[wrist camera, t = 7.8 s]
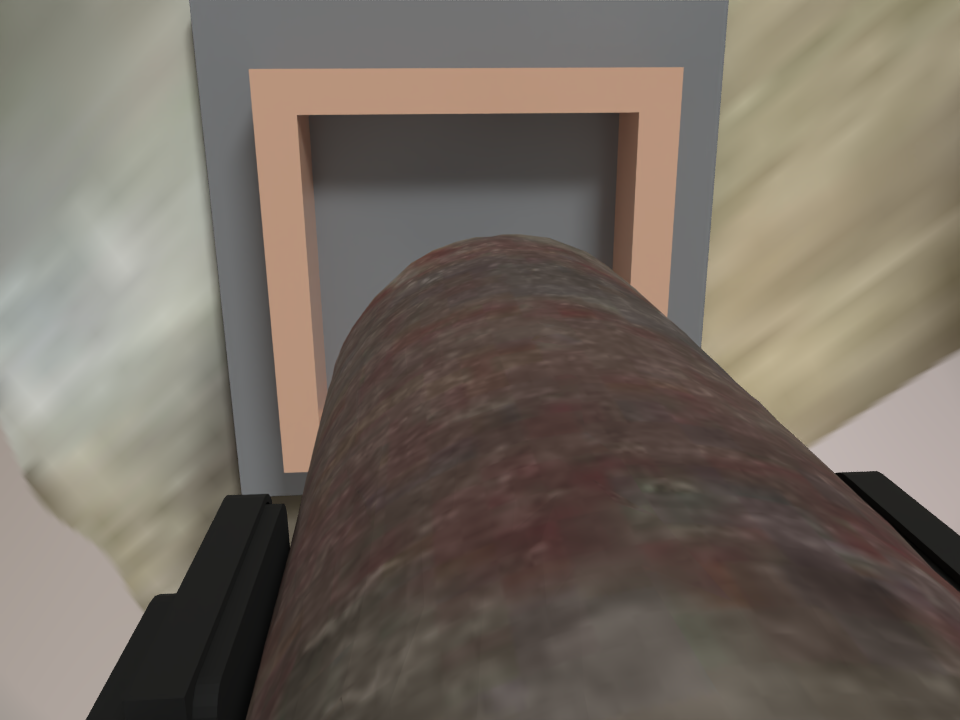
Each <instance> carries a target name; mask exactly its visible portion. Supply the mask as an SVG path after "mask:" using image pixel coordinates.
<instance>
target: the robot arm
mask: <svg viewBox="0 0 960 720" xmlns="http://www.w3.org/2000/svg"><path fill="white" fill-rule="evenodd" d="M835 474H836V475H837V476H838V477H839V478H840V479H841V480H842V481H843V482H844V483H845V484H847V485H848V486H849V487H850V488H851V489H852V490H853V491H854V492H855V493H856V494H857V495H858V496H859V497H860V498H861V499H862V500H863V501H864V502H866V503H867V504H868V505H869V506H870V507H871V508H872V509H873V510H875V511H876V512H877V513H878V514H879V515H880V516H881V517H883V518H884V519H885V520H886V521H887V522H888V523H889V524H890V525H891V526H892V527H893V528H894V529H895V530H896V531H897V532H898V533H899V534H900V535H901V536H902V537H903V538H904V539H905V541H906V542H907V543H908V544H909V545H910V546H911V547H912V548H913V549H914V550H915V551H916V552H917V553H918V554H919V555H920V556H921V557H922V558H923V559H924V561H925V562H926V563H927V564H928V565H929V566H930V567H931V568H932V569H933V570H934V571H935V572H936V573H937V574H939V575H940V576H941V577H942V578H943V579H944V580H946V581H947V582H948V583H949V584H950V585H951V586H953V587H954V588H955V589H956V590H957V591H959V592H960V536H959V535H958V534H957V533H956V532H954V531H953V530H952V529H951V528H949V527H948V526H947V525H946V524H944V523H943V522H942V521H940V520H939V519H938V518H937V517H936V516H934V515H933V514H932V513H931V512H929V511H928V510H927V509H925V508H924V507H923V506H922V505H920V504H919V503H918V502H917V501H916V500H914V499H913V498H912V497H910V496H909V495H908V494H907V493H906V492H904V491H903V490H902V489H901V488H899V487H898V486H897V485H896V484H894V483H893V482H892V481H891V480H889V479H888V478H887V477H885V476H884V475H883V474H881V473H880V472H877V471H870V472H842V473H835ZM289 551H290V543H289V532H288V520H287V511H286V507H285V504H272V500H271V497H270V495H269V494H249V495H227V496H226V497H225V498H224V500H223V502H222V504H221V506H220V508H219V510H218V512H217V514H216V516H215V518H214V520H213V522H212V524H211V526H210V528H209V530H208V532H207V534H206V536H205V538H204V540H203V542H202V544H201V546H200V548H199V550H198V552H197V554H196V556H195V558H194V560H193V562H192V564H191V566H190V568H189V570H188V572H187V574H186V576H185V577H184V579H183V581H182V583H181V585H180V587H179V589H178V591H177V593H175V594H159V595H157V596H155V597H154V598H153V599H152V601H151V602H150V603H149V605H148V607H147V609H146V611H145V613H144V614H143V616H142V618H141V620H140V622H139V624H138V625H137V627H136V629H135V631H134V633H133V634H132V636H131V638H130V640H129V642H128V644H127V646H126V647H125V649H124V651H123V653H122V655H121V656H120V658H119V660H118V662H117V664H116V666H115V667H114V669H113V671H112V673H111V675H110V677H109V678H108V680H107V682H106V684H105V686H104V687H103V689H102V691H101V693H100V695H99V697H98V698H97V700H96V702H95V704H94V706H93V708H92V709H91V711H90V713H89V715H88V717H87V718H86V720H246V716H247V712H248V708H249V705H250V701H251V697H252V693H253V689H254V685H255V681H256V677H257V674H258V670H259V666H260V662H261V658H262V654H263V650H264V646H265V642H266V638H267V634H268V630H269V627H270V623H271V619H272V615H273V611H274V608H275V604H276V600H277V596H278V593H279V589H280V585H281V581H282V577H283V573H284V570H285V566H286V562H287V558H288V554H289Z"/></svg>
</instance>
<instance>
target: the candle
mask: <svg viewBox="0 0 960 720" xmlns="http://www.w3.org/2000/svg"><path fill="white" fill-rule="evenodd" d="M246 720H960V592H959V591H957V590H956V589H955V588H954V587H953V586H951V585H950V584H949V583H948V582H947V581H946V580H944V579H943V578H942V577H941V576H940V575H939V574H937V573H936V572H935V571H934V570H933V569H932V568H931V567H930V566H929V565H928V564H927V563H926V562H925V561H924V559H923V558H922V557H921V556H920V555H919V554H918V553H917V552H916V551H915V550H914V549H913V548H912V547H911V546H910V545H909V544H908V543H907V542H906V541H905V539H904V538H903V537H902V536H901V535H900V534H899V533H898V532H897V531H896V530H895V529H894V528H893V527H892V526H891V525H890V524H889V523H888V522H887V521H886V520H885V519H884V518H883V517H881V516H880V515H879V514H878V513H877V512H876V511H875V510H873V509H872V508H871V507H870V506H869V505H868V504H867V503H866V502H864V501H863V500H862V499H861V498H860V497H859V496H858V495H857V494H856V493H855V492H854V491H853V490H852V489H851V488H850V487H849V486H848V485H847V484H845V483H844V482H843V481H842V480H841V479H840V478H839V477H838V476H837V475H836V474H835V473H834V472H833V471H832V470H830V469H829V468H828V467H827V466H826V465H825V464H824V463H823V462H822V461H821V460H820V459H819V458H818V457H817V456H815V455H814V454H813V453H812V452H811V451H810V450H809V449H808V448H807V447H806V446H805V445H804V444H803V443H802V442H800V441H799V440H798V439H797V438H796V437H795V436H794V435H793V434H792V433H791V432H790V431H788V430H787V429H786V428H785V427H784V426H783V425H782V424H780V423H779V422H778V421H777V420H776V418H775V417H774V416H773V415H772V414H771V413H770V412H769V411H768V410H767V409H766V408H765V407H764V406H763V405H762V404H761V403H760V402H759V401H758V400H756V399H755V398H753V397H752V396H751V395H750V394H749V393H747V392H746V391H745V390H744V389H743V388H742V387H741V386H740V385H738V384H737V383H736V382H735V381H734V380H733V379H732V378H731V377H730V376H729V375H728V374H727V373H726V372H725V371H724V370H723V369H722V368H721V367H720V366H719V365H718V364H717V363H716V362H715V361H714V360H713V359H712V358H710V357H709V356H708V355H707V354H706V353H705V352H704V351H703V350H702V349H701V348H700V347H699V346H698V345H697V344H696V343H695V342H694V341H693V340H692V339H691V338H690V337H689V336H688V335H687V334H686V333H685V332H684V331H682V330H681V329H680V328H679V327H678V326H677V325H675V324H674V323H673V322H672V321H671V320H670V319H668V318H667V317H666V316H665V315H664V314H663V313H662V312H661V311H660V310H658V309H657V308H656V307H655V306H654V305H653V304H652V303H651V302H649V301H648V300H647V299H646V298H645V297H644V296H643V295H642V294H640V293H639V292H638V291H637V290H636V289H635V288H634V287H633V286H631V285H630V284H629V283H628V282H626V281H625V280H624V279H623V278H621V277H620V276H619V275H618V274H616V273H615V272H614V271H613V270H612V269H610V268H609V267H608V266H607V265H605V264H604V263H602V262H601V261H599V260H598V259H597V258H595V257H594V256H592V255H591V254H589V253H588V252H586V251H583V250H580V249H578V248H575V247H572V246H570V245H567V244H564V243H562V242H559V241H556V240H554V239H551V238H547V237H539V236H531V235H523V234H502V235H497V236H492V237H474V238H470V239H465V240H461V241H457V242H454V243H451V244H449V245H446V246H444V247H441V248H438V249H435V250H432V251H431V252H429V253H427V254H426V255H424V256H422V257H421V258H419V259H417V260H416V261H414V262H412V263H411V264H410V265H408V266H407V267H406V268H405V269H404V270H403V271H402V272H401V273H400V274H399V275H398V276H397V277H396V278H395V279H393V280H392V281H391V282H390V283H389V284H388V285H387V286H386V287H385V288H384V289H383V290H382V291H381V292H380V293H378V294H377V295H376V296H375V297H374V299H373V300H372V301H371V303H370V304H369V305H368V307H367V308H366V309H365V311H364V312H363V313H362V315H361V316H360V317H359V319H358V320H357V322H356V323H355V324H354V326H353V327H352V329H351V330H350V332H349V334H348V336H347V337H346V339H345V341H344V342H343V345H342V347H341V350H340V353H339V355H338V358H337V360H336V363H335V366H334V371H333V375H332V380H331V383H330V386H329V389H328V392H327V396H326V400H325V404H324V408H323V412H322V416H321V420H320V424H319V428H318V432H317V436H316V441H315V445H314V449H313V453H312V457H311V462H310V466H309V470H308V474H307V477H306V481H305V486H304V490H303V495H302V500H301V504H300V509H299V513H298V518H297V522H296V526H295V530H294V534H293V538H292V542H291V547H290V551H289V554H288V558H287V562H286V566H285V570H284V573H283V577H282V581H281V585H280V589H279V593H278V596H277V600H276V604H275V608H274V611H273V615H272V619H271V623H270V627H269V630H268V634H267V638H266V642H265V646H264V650H263V654H262V658H261V662H260V666H259V670H258V674H257V677H256V681H255V685H254V689H253V693H252V697H251V701H250V705H249V708H248V712H247V716H246Z"/></svg>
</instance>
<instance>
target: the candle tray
mask: <svg viewBox="0 0 960 720" xmlns="http://www.w3.org/2000/svg"><path fill="white" fill-rule="evenodd" d="M728 2H729V0H189V3H190V13H191V22H192V32H193V41H194V50H195V60H196V69H197V79H198V88H199V97H200V107H201V116H202V126H203V135H204V144H205V154H206V163H207V172H208V182H209V191H210V201H211V210H212V219H213V229H214V238H215V248H216V257H217V266H218V276H219V285H220V295H221V304H222V313H223V323H224V332H225V341H226V351H227V360H228V370H229V379H230V388H231V398H232V407H233V417H234V426H235V435H236V445H237V454H238V464H239V473H240V482H241V492H242V495H249V494H269V495H270V496H287V495H303V490H304V486H305V481H306V477H307V474H308V470H309V466H310V462H311V457H312V453H313V449H314V445H315V441H316V436H317V432H318V428H319V424H320V420H321V416H322V412H323V408H324V404H325V400H326V396H327V392H328V389H329V386H330V383H331V380H332V375H333V371H334V366H335V363H336V360H337V358H338V355H339V353H340V350H341V347H342V345H343V342H344V341H345V339H346V337H347V336H348V334H349V332H350V330H351V329H352V327H353V326H354V324H355V323H356V322H357V320H358V319H359V317H360V316H361V315H362V313H363V312H364V311H365V309H366V308H367V307H368V305H369V304H370V303H371V301H372V300H373V299H374V297H375V296H376V295H377V294H378V293H380V292H381V291H382V290H383V289H384V288H385V287H386V286H387V285H388V284H389V283H390V282H391V281H392V280H393V279H395V278H396V277H397V276H398V275H399V274H400V273H401V272H402V271H403V270H404V269H405V268H406V267H407V266H408V265H410V264H411V263H412V262H414V261H416V260H417V259H419V258H421V257H422V256H424V255H426V254H427V253H429V252H431V251H432V250H435V249H438V248H441V247H444V246H446V245H449V244H451V243H454V242H457V241H461V240H465V239H470V238H474V237H492V236H497V235H502V234H523V235H531V236H539V237H547V238H551V239H554V240H556V241H559V242H562V243H564V244H567V245H570V246H572V247H575V248H578V249H580V250H583V251H586V252H588V253H589V254H591V255H592V256H594V257H595V258H597V259H598V260H599V261H601V262H602V263H604V264H605V265H607V266H608V267H609V268H610V269H612V270H613V271H614V272H615V273H616V274H618V275H619V276H620V277H621V278H623V279H624V280H625V281H626V282H628V283H629V284H630V285H631V286H633V287H634V288H635V289H636V290H637V291H638V292H639V293H640V294H642V295H643V296H644V297H645V298H646V299H647V300H648V301H649V302H651V303H652V304H653V305H654V306H655V307H656V308H657V309H658V310H660V311H661V312H662V313H663V314H664V315H665V316H666V317H667V318H668V319H670V320H671V321H672V322H673V323H674V324H675V325H677V326H678V327H679V328H680V329H681V330H682V331H684V332H685V333H686V334H687V335H688V336H689V337H690V338H691V339H692V340H693V341H694V342H695V343H696V344H697V345H698V346H699V347H700V348H701V341H702V328H703V316H704V303H705V291H706V278H707V266H708V253H709V240H710V228H711V215H712V203H713V190H714V178H715V165H716V153H717V140H718V128H719V115H720V103H721V90H722V77H723V65H724V52H725V40H726V27H727V15H728Z"/></svg>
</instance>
